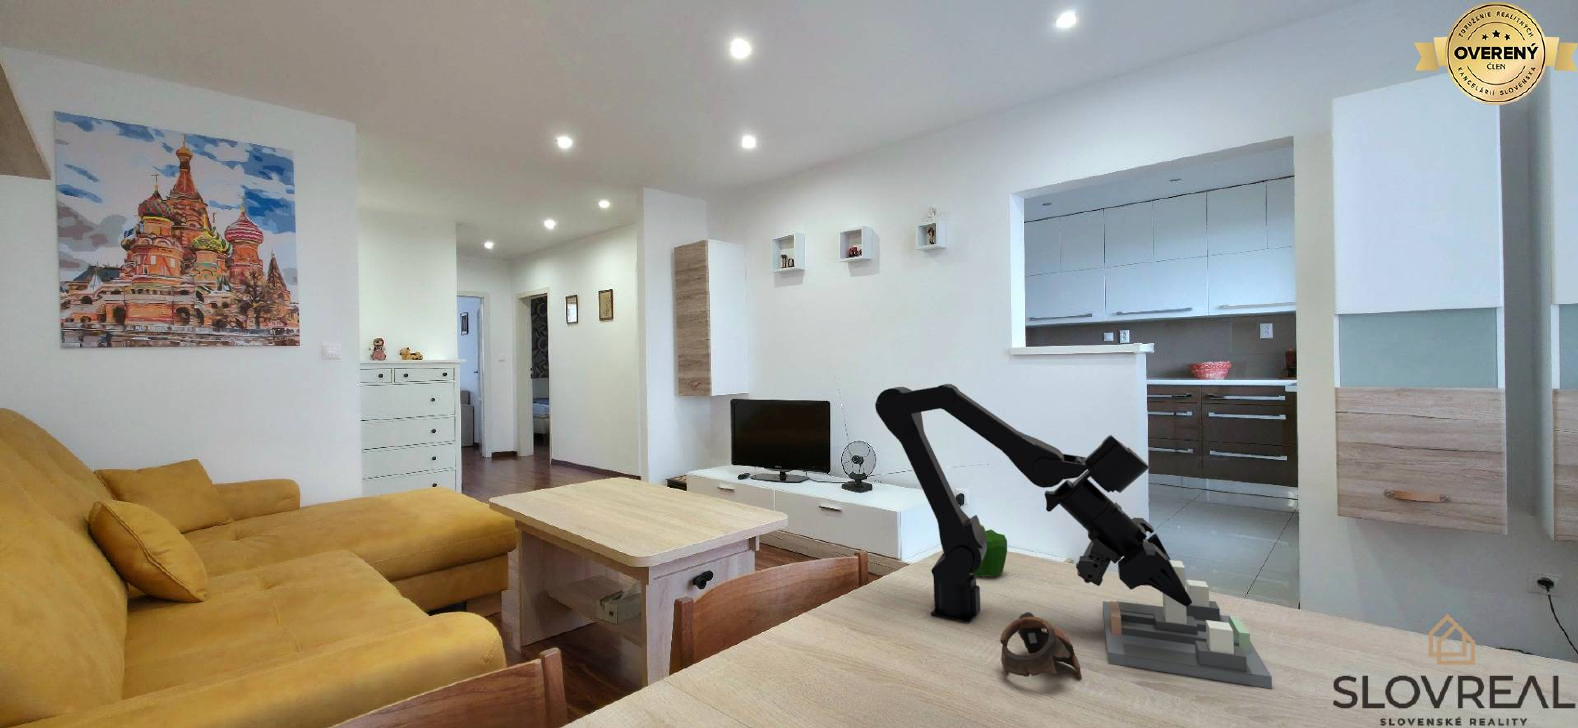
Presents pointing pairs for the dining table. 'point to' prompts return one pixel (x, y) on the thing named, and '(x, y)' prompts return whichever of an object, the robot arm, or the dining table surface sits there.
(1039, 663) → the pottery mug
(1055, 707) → the dining table surface
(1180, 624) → the breaker handle
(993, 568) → the bell pepper
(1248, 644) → the board
